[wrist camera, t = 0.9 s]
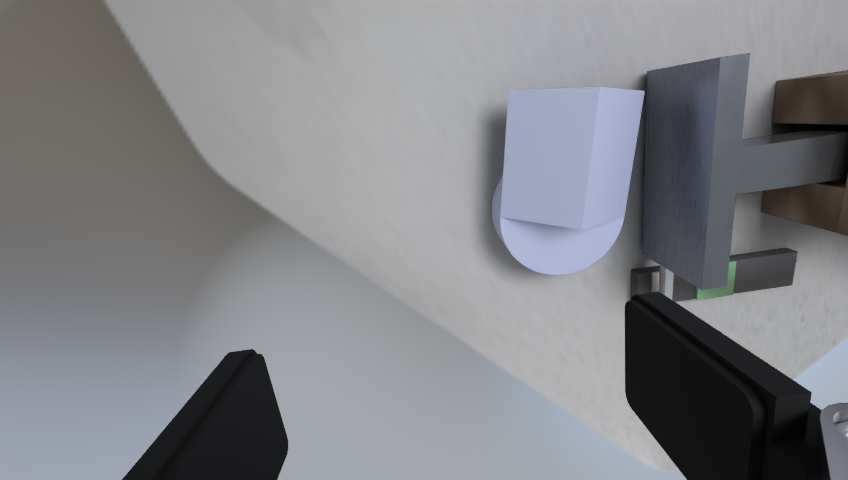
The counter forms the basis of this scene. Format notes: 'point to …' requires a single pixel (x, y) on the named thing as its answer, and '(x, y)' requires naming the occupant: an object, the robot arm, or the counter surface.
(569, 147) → the wedge on round base
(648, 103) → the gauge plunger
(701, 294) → the frame
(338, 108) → the counter surface
